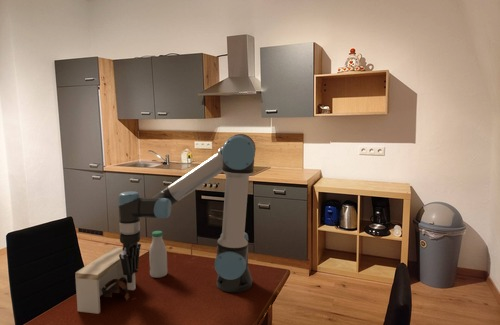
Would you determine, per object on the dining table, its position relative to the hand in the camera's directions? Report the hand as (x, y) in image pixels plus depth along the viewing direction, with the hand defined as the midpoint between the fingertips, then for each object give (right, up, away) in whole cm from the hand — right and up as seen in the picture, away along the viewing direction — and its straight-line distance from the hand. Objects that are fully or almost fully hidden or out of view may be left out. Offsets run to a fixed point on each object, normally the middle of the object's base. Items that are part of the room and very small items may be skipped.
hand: (131, 289), depth 148 cm
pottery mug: (-6, -3, +1) cm, 7 cm away
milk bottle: (+5, -1, +22) cm, 22 cm away
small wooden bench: (-10, -3, +2) cm, 10 cm away
